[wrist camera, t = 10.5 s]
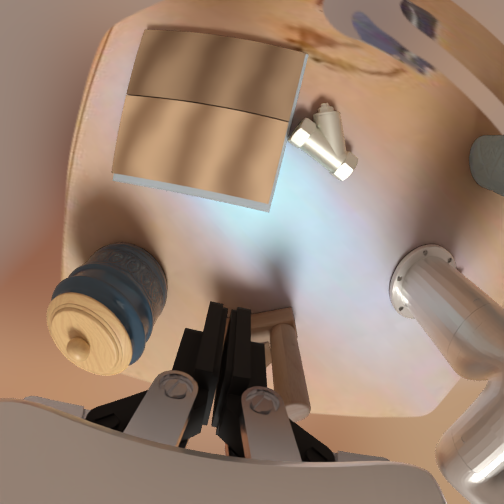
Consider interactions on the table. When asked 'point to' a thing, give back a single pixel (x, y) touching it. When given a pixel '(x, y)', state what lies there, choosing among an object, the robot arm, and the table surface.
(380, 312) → the table surface
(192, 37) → the floor board
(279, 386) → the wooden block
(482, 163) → the grey pot
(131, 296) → the canister
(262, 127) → the plank
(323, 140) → the pipe fitting
